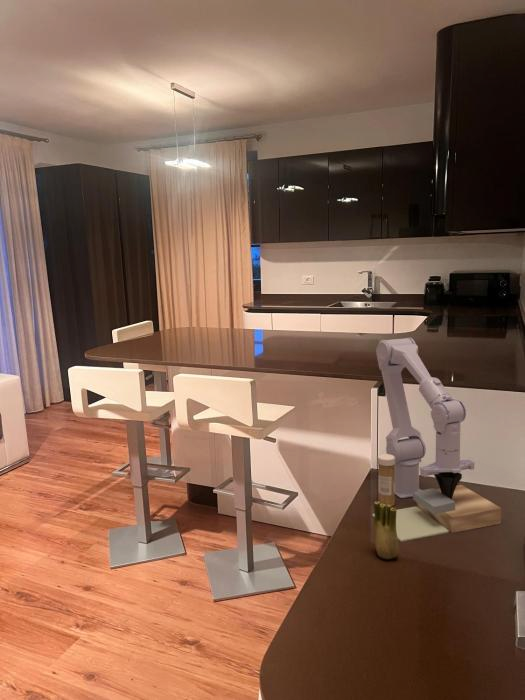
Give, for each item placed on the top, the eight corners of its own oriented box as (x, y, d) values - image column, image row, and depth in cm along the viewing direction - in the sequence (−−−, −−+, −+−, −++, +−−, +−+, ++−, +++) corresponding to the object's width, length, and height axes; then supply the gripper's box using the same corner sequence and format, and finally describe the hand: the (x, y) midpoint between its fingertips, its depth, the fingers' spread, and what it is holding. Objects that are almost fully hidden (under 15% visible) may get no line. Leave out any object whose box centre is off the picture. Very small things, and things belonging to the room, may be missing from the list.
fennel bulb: (371, 550, 114) (370, 500, 113) (391, 547, 115) (391, 497, 114) (381, 564, 109) (381, 511, 107) (402, 561, 110) (402, 509, 108)
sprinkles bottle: (398, 503, 137) (398, 455, 135) (389, 508, 134) (389, 460, 132) (383, 498, 141) (383, 452, 139) (374, 503, 138) (374, 456, 136)
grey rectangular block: (413, 499, 130) (413, 492, 130) (433, 495, 132) (433, 487, 132) (434, 514, 122) (433, 506, 122) (455, 509, 123) (455, 501, 123)
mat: (372, 515, 131) (372, 514, 131) (416, 507, 134) (416, 506, 134) (400, 541, 117) (400, 540, 117) (448, 532, 121) (449, 530, 121)
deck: (416, 506, 135) (416, 492, 134) (461, 498, 139) (461, 485, 138) (452, 533, 121) (452, 517, 120) (500, 523, 124) (501, 508, 124)
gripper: (432, 456, 120) (431, 510, 122) (483, 449, 124) (481, 501, 126) (415, 447, 127) (415, 498, 129) (464, 440, 131) (463, 490, 133)
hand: (446, 499), depth 128 cm, fingers closed
